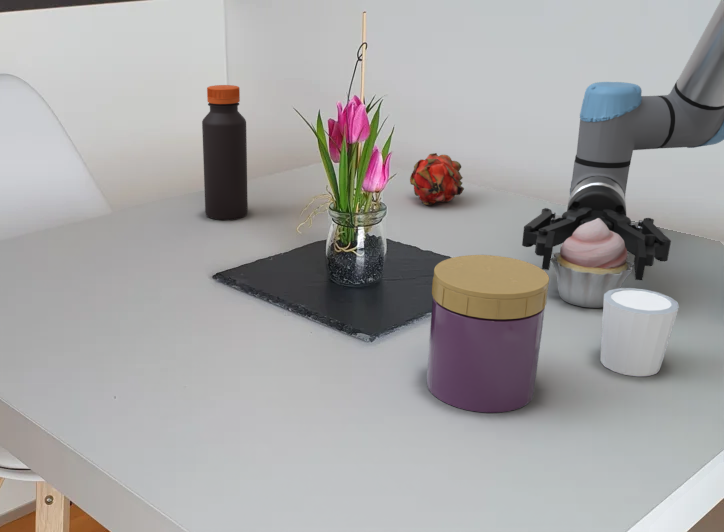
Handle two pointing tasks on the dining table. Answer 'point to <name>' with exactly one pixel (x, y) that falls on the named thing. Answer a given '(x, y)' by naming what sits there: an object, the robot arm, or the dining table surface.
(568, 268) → the cupcake
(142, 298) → the dining table surface
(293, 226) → the dining table surface
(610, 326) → the shot glass
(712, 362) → the dining table surface
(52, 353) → the dining table surface
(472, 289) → the jar lid
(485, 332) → the jar
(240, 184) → the bottle
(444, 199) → the dragon fruit
